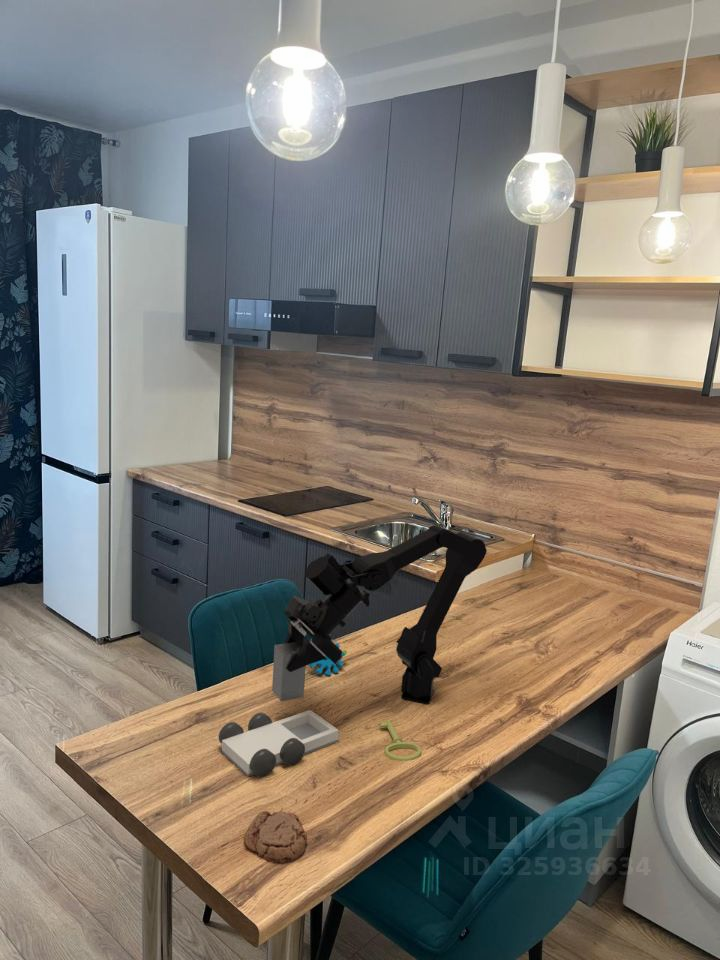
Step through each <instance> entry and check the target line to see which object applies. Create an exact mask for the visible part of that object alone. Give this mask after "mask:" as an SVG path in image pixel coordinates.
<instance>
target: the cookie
mask: <svg viewBox="0 0 720 960" xmlns="http://www.w3.org/2000/svg"><path fill="white" fill-rule="evenodd" d="M243 841H244V842H245V846H246V847H247V849H248V850H251V851H252V852H254V853H256V854H257V857H258V858H262V859H263V860H265V861H268V862H271V861H274V862H278V863H281V864H284V863H287V862H289V861H290V862H293V861H295V860H297V859H298V858H300V857H301V855H303V854H304V852H305V850H306V845H307V842H308V835H307V832H306V831H305V829H304V827H303V822H302V821H301V820H300V817H299V816H298V815H297V814H296V813H294V812H289V811H288V812H287V811H282V810H281V811H273V812H272V813H271V812H270V811H268V810H263V811H260V812H259V813H257V814H256V815H255V817H254V818H253V819H252V821H251V822H250V824H249V826H248V827H247V829H246V831H245V833H244V835H243Z"/></svg>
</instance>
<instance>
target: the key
mask: <svg viewBox="0 0 720 960" xmlns="http://www.w3.org/2000/svg"><path fill="white" fill-rule="evenodd" d="M378 725H379V728H387V729H388V732H389V733H390V736H391V738H392V743H390V744H388V745H386V746H385V748H384V756H385V757H387V758H388V759H390V760H392V761H397V762H405V761H414V760H416V759H419V758H420V757H421V755H422V748H421V747H420V746H419V745H418V744H416V743H413V742H408V741H403V739H402V737H399V735H398V733H397V730H396V729H395V727H394V725H393V723H392V721H391V720H390V719H386V721H383V722H381V721H380V722H378ZM398 749H399V750H400V749H411V750H414V751H416V752H415V753H414V754H411V755H407V756H406V755H405V756H401V755H400V756H399V755H394V754H392V753H391V751H394V750H398Z"/></svg>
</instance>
